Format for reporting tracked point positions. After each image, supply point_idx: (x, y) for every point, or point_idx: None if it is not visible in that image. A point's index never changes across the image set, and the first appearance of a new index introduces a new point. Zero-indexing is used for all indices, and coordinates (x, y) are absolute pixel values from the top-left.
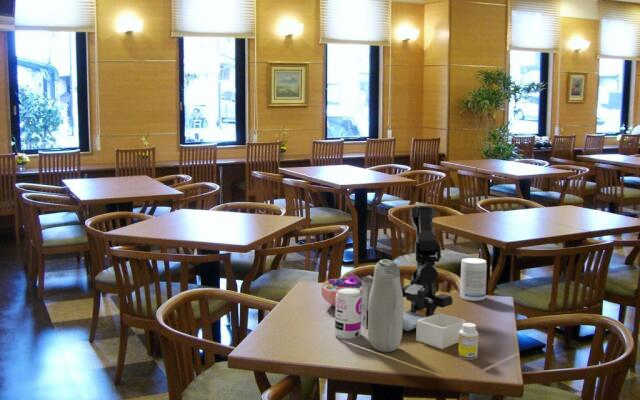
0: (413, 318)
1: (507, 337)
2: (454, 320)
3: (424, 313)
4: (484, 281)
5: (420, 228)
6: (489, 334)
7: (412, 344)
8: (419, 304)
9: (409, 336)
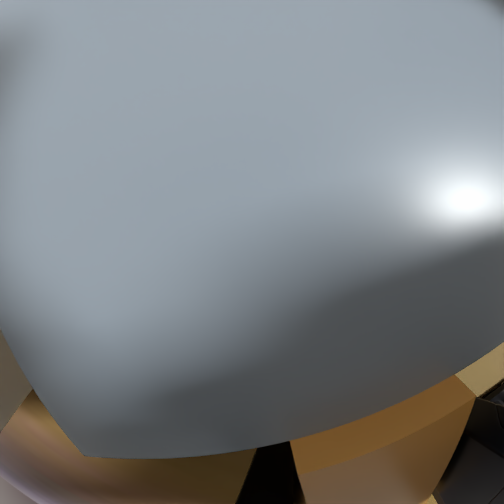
0: (194, 52)
1: (21, 488)
2: None
3: (301, 480)
4: None
5: None
6: (46, 489)
7: None
8: (496, 502)
9: None
